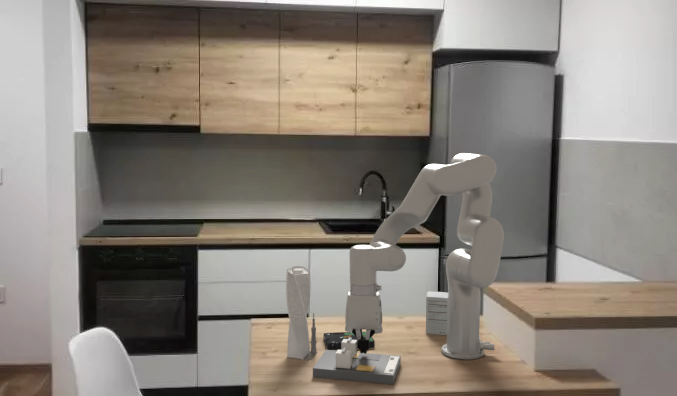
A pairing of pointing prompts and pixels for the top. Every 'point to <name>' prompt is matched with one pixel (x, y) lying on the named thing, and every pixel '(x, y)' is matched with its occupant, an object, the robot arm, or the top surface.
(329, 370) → the switch board
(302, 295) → the skyscraper
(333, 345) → the disk drive
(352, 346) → the tab
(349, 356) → the front tab
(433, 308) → the supplement box
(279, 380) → the top surface
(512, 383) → the top surface
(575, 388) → the top surface
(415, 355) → the top surface
